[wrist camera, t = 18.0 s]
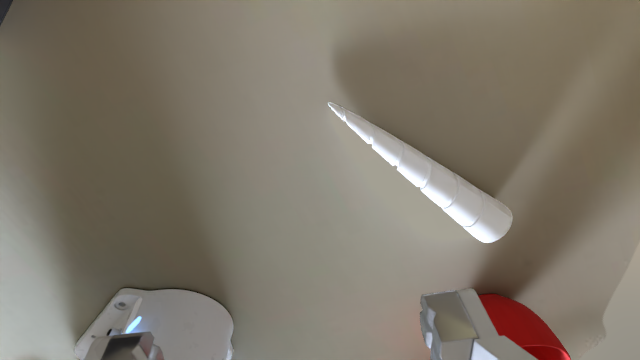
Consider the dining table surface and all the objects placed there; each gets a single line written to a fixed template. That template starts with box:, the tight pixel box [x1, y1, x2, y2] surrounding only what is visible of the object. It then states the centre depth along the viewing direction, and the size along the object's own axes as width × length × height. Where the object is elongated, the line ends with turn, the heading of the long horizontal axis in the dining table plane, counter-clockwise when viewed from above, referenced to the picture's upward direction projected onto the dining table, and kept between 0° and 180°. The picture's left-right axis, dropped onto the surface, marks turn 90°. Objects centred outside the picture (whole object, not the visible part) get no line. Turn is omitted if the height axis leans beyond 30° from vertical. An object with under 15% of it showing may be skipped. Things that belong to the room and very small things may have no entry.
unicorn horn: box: [328, 102, 512, 243], centre depth 39 cm, size 5×24×5 cm, turn 49°
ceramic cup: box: [478, 294, 571, 360], centre depth 50 cm, size 13×17×10 cm
